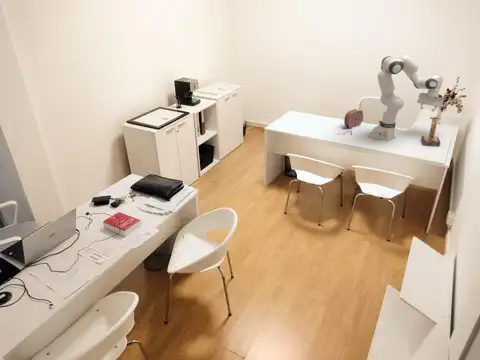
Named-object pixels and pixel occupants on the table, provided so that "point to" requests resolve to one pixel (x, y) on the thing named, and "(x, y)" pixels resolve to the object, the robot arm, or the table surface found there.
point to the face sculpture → (353, 118)
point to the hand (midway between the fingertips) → (427, 110)
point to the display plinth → (430, 141)
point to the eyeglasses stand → (433, 128)
